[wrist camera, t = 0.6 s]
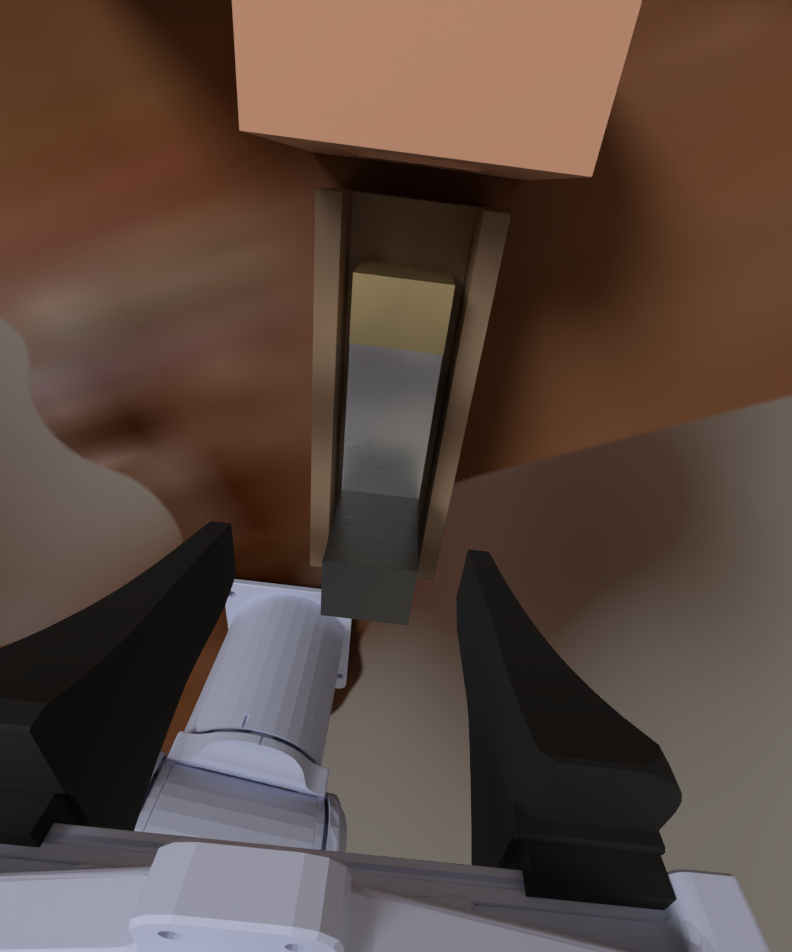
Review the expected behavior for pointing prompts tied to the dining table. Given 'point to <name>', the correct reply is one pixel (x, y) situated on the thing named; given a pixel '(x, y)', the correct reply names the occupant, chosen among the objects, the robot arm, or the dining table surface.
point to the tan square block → (435, 80)
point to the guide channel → (475, 276)
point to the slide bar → (385, 438)
